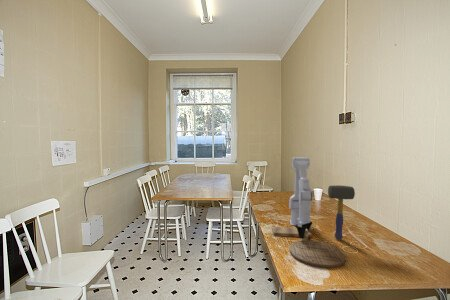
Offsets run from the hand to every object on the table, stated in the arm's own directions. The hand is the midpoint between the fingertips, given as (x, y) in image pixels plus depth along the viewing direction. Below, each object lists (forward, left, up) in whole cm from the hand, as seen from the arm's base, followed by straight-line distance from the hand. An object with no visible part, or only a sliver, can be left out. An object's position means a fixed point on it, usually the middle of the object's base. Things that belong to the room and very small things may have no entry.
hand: (303, 236), depth 135 cm
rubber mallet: (-20, -3, -2) cm, 20 cm away
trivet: (-2, +17, -2) cm, 18 cm away
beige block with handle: (0, -3, -2) cm, 4 cm away
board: (+5, -8, -2) cm, 9 cm away
